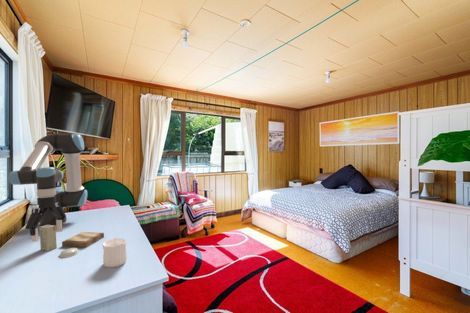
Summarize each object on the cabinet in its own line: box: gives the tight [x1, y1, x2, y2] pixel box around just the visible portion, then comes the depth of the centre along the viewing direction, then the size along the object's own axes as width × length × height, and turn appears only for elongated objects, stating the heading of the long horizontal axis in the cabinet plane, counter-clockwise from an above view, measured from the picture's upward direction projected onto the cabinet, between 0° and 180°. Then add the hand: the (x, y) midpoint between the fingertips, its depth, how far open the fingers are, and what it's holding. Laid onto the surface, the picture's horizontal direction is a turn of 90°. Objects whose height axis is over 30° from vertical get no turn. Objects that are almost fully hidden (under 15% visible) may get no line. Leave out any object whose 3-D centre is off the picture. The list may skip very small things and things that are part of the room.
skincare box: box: [39, 225, 58, 252], centre depth 116 cm, size 6×4×12 cm
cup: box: [102, 237, 128, 268], centre depth 101 cm, size 10×10×10 cm
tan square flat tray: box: [61, 231, 105, 248], centre depth 125 cm, size 14×14×3 cm
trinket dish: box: [58, 247, 80, 259], centre depth 111 cm, size 8×8×2 cm
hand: (47, 236), depth 116 cm, fingers open, 13 cm apart
